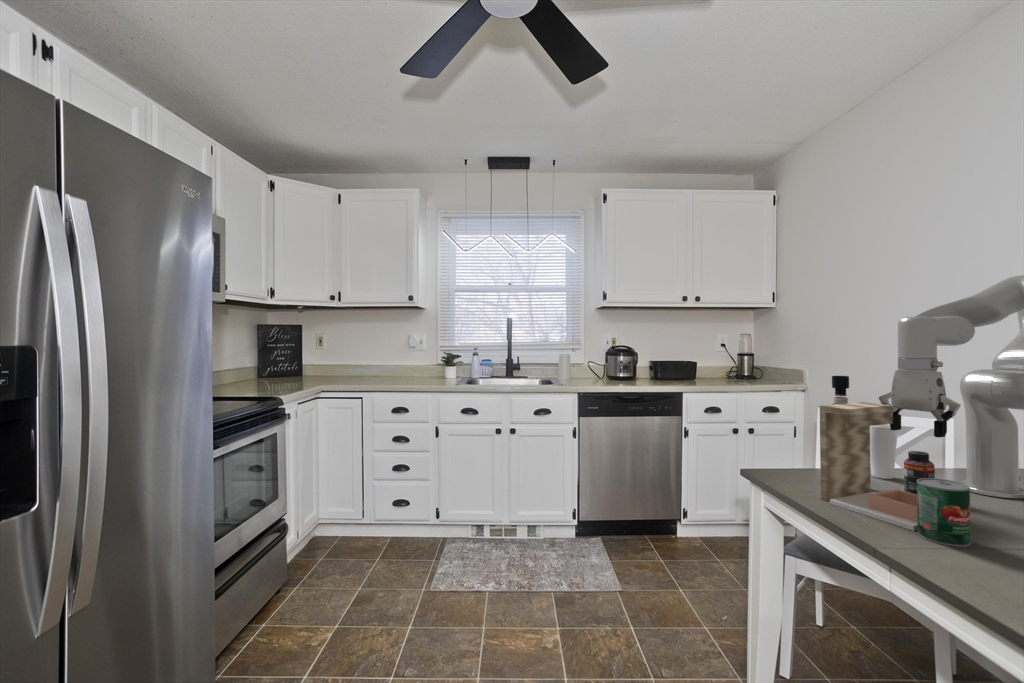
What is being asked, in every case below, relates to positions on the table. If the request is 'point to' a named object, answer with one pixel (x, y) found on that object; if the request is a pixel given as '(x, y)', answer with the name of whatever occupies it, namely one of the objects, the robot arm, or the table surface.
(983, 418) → the robot arm
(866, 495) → the socket
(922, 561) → the table surface
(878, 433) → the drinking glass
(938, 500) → the canned tomato
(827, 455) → the wood grain block
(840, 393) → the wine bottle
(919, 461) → the supplement bottle
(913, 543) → the table surface
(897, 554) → the table surface
